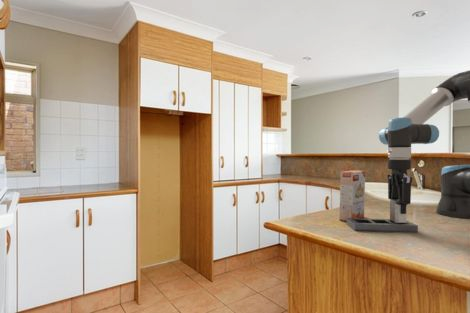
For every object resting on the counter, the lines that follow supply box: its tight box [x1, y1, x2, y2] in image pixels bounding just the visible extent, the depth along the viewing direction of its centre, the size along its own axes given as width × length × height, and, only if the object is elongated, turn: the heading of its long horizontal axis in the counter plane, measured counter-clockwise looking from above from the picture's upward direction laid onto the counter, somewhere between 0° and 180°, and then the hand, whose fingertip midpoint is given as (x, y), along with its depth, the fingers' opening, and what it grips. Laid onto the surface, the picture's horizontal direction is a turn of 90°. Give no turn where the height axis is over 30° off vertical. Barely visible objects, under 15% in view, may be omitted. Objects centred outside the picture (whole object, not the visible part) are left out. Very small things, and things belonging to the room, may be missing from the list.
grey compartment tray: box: [346, 217, 419, 233], centre depth 103 cm, size 22×9×2 cm, turn 85°
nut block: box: [389, 199, 408, 223], centre depth 102 cm, size 4×4×8 cm
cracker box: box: [338, 170, 366, 222], centre depth 118 cm, size 14×6×21 cm, turn 136°
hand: (398, 220), depth 102 cm, fingers closed on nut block, 4 cm apart
